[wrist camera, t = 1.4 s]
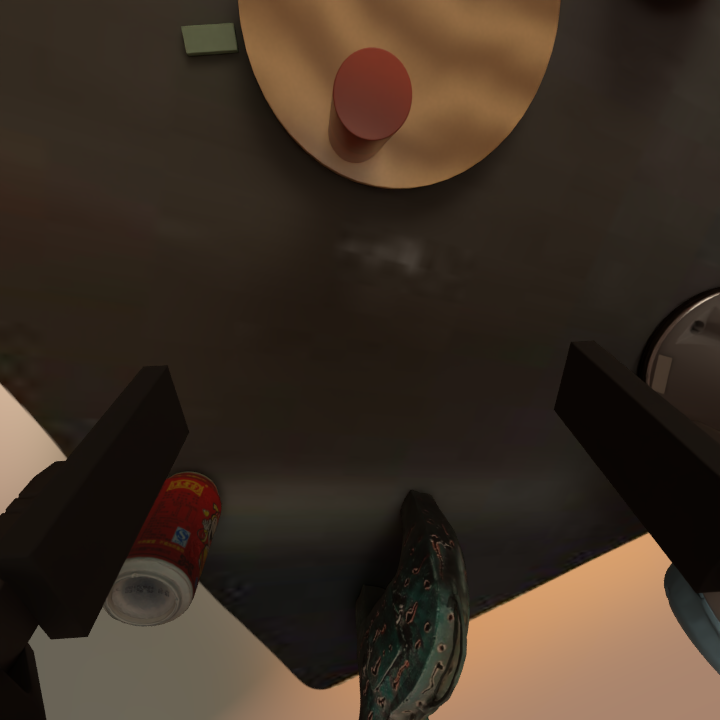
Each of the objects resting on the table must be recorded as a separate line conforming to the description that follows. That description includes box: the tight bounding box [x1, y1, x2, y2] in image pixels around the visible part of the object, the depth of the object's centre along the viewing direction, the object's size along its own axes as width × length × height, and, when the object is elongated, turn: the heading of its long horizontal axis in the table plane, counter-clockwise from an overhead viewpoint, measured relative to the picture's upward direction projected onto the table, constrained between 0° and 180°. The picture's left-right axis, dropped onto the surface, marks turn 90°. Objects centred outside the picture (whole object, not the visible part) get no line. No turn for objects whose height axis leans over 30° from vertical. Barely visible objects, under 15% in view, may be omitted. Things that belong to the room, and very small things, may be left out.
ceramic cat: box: [355, 490, 469, 720], centre depth 37 cm, size 20×6×20 cm, turn 160°
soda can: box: [103, 472, 221, 626], centre depth 36 cm, size 7×7×12 cm
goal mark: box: [181, 23, 239, 56], centre depth 28 cm, size 4×2×1 cm, turn 95°
